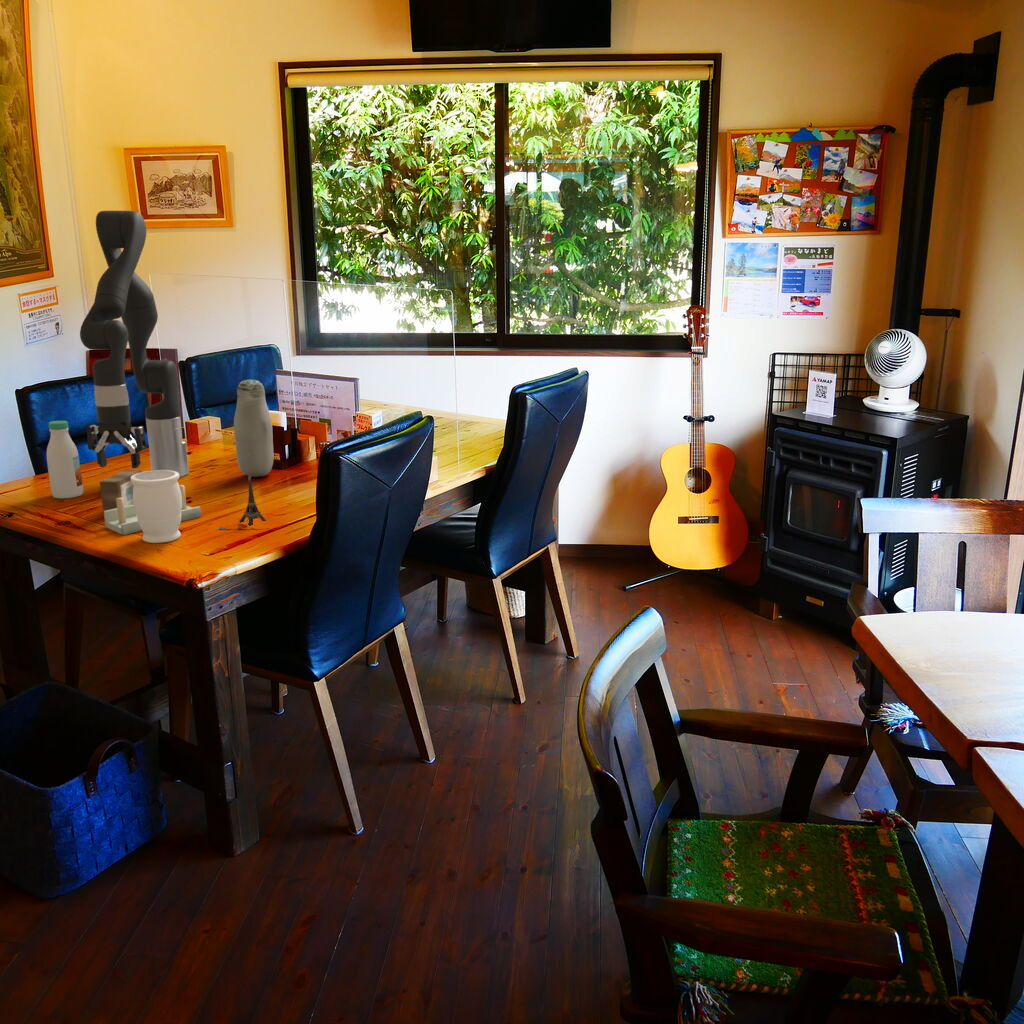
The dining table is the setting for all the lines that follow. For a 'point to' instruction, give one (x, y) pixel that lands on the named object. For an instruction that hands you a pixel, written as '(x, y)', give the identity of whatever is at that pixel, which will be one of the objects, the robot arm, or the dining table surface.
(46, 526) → the dining table surface
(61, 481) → the milk bottle
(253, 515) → the eiffel tower figurine
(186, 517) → the ledge
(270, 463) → the grey bottle
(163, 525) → the jar
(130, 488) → the wooden block
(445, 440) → the dining table surface
